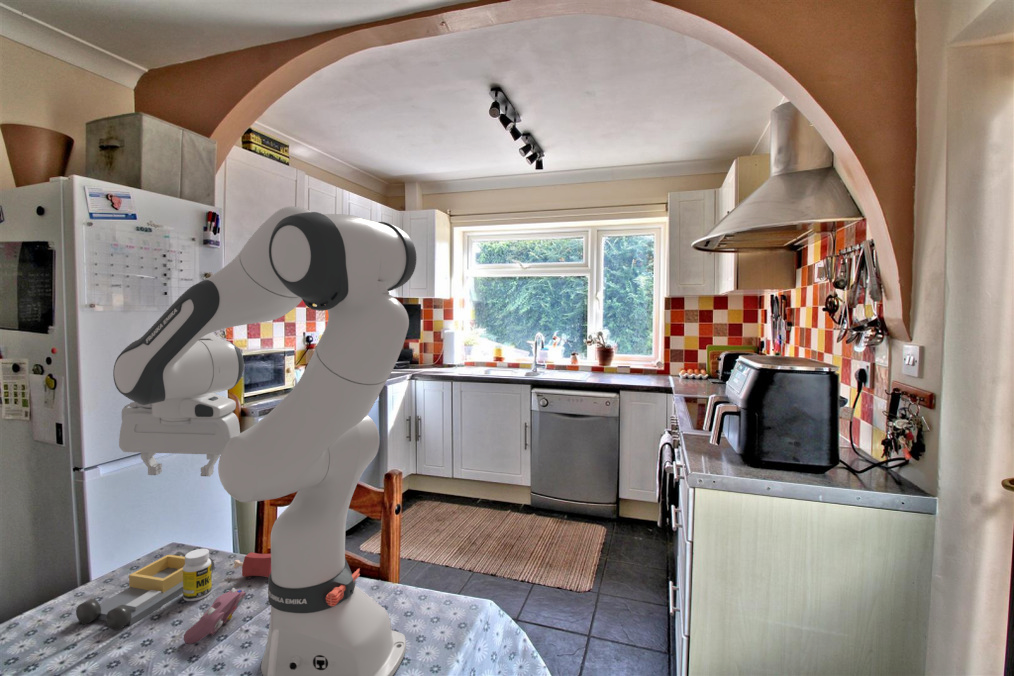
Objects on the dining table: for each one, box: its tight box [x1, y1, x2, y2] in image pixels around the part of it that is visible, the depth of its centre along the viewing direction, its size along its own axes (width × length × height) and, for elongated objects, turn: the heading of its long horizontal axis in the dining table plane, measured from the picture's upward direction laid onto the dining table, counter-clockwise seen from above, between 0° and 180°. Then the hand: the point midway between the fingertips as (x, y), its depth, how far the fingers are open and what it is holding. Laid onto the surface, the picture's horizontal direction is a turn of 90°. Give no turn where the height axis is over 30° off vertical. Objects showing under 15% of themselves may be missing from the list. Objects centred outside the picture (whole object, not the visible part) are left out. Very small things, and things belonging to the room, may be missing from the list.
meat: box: [232, 551, 271, 578], centre depth 100 cm, size 12×5×5 cm, turn 87°
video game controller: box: [183, 587, 247, 645], centre depth 84 cm, size 10×5×7 cm, turn 177°
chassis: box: [75, 551, 215, 631], centre depth 93 cm, size 11×19×4 cm, turn 167°
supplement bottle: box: [182, 548, 213, 602], centre depth 93 cm, size 5×5×8 cm
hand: (181, 474), depth 90 cm, fingers open, 8 cm apart
